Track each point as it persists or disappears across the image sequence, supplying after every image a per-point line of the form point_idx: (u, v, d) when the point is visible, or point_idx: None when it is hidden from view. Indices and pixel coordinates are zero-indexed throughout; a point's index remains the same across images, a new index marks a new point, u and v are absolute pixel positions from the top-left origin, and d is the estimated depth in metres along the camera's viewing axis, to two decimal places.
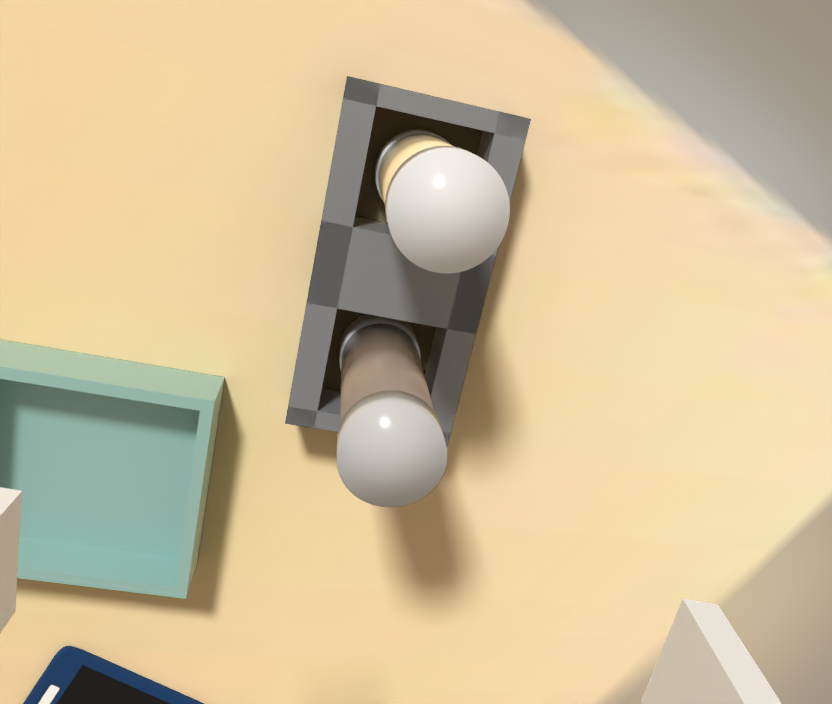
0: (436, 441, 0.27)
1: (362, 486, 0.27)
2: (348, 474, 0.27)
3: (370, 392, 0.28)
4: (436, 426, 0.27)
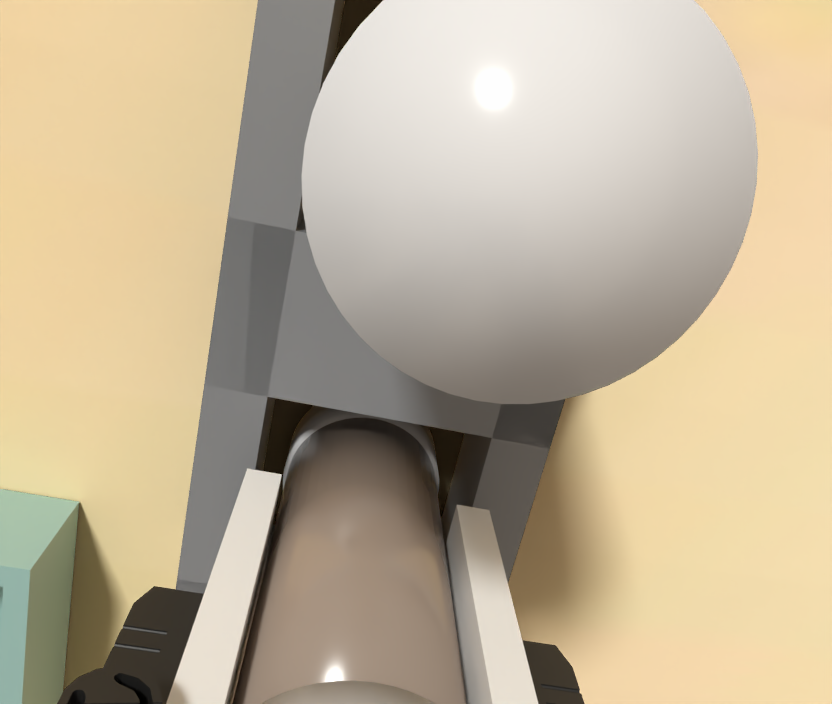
0: None
1: None
2: None
3: (296, 672, 0.11)
4: None
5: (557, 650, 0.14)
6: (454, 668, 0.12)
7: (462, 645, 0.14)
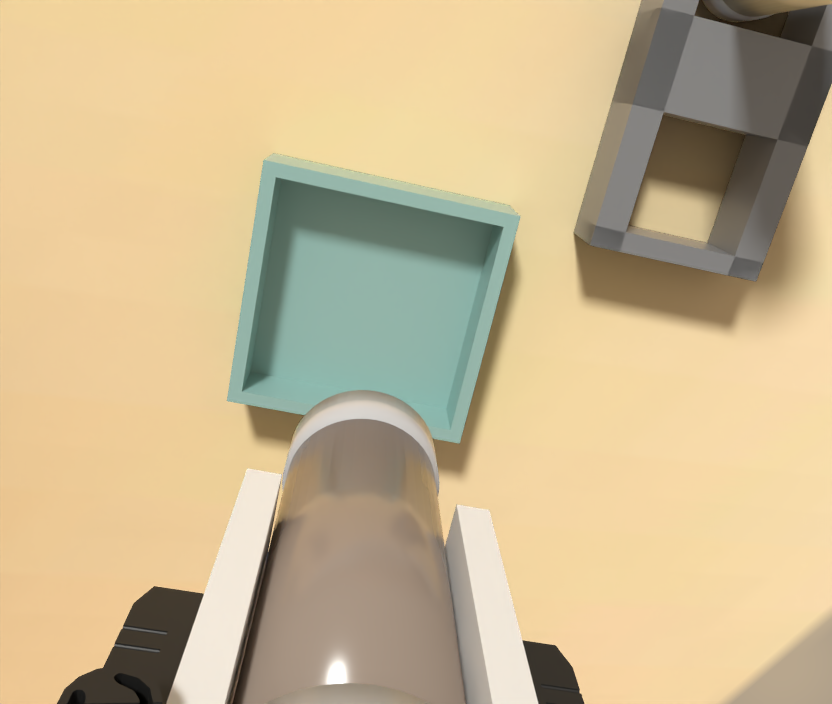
0: None
1: None
2: None
3: (295, 675, 0.11)
4: None
5: (556, 650, 0.14)
6: (454, 670, 0.12)
7: (461, 645, 0.14)
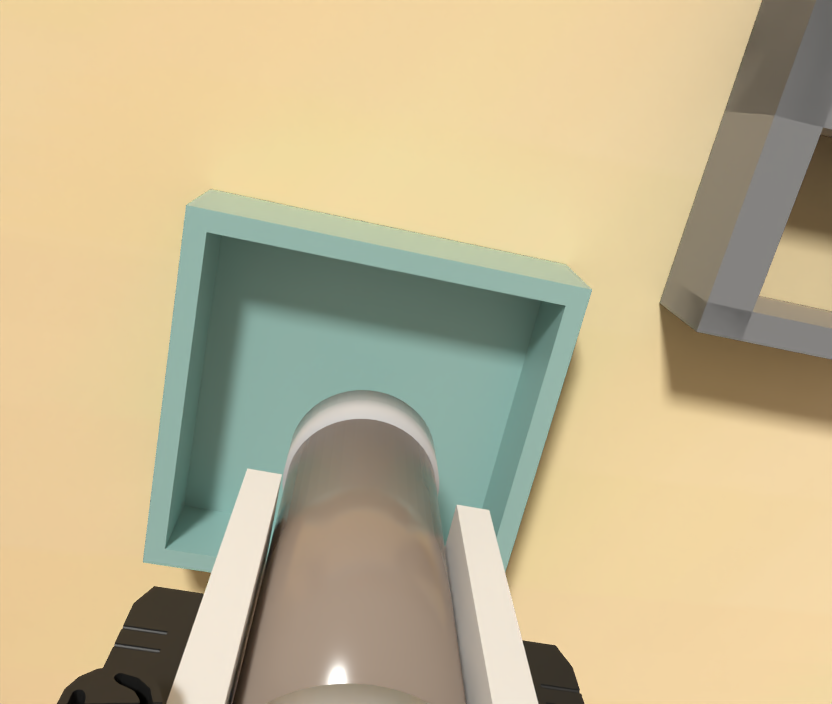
0: None
1: None
2: None
3: (295, 675, 0.11)
4: None
5: (557, 650, 0.14)
6: (454, 670, 0.12)
7: (462, 645, 0.14)
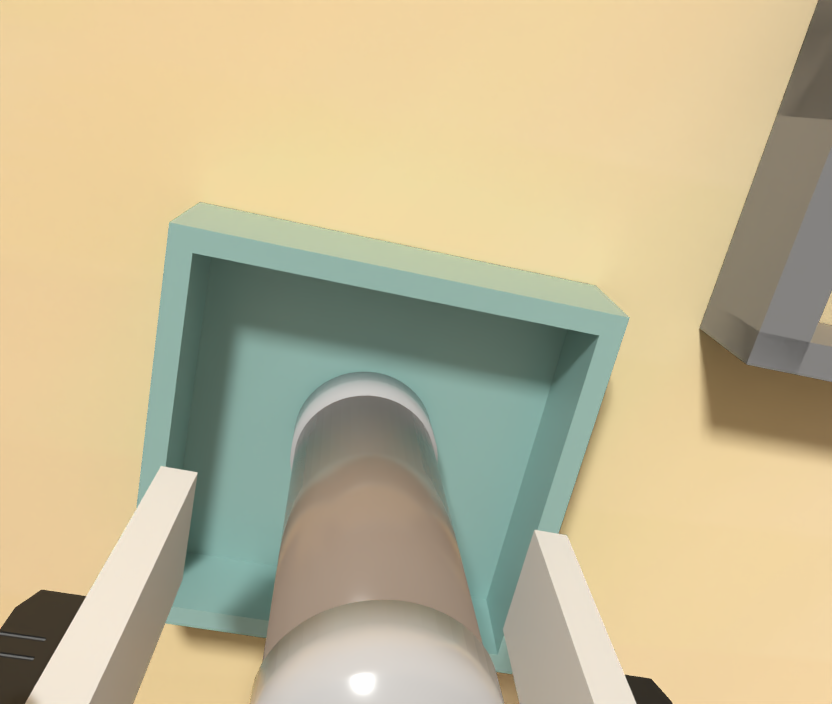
0: None
1: None
2: None
3: (330, 597, 0.12)
4: None
5: (653, 683, 0.14)
6: (468, 599, 0.13)
7: (556, 679, 0.14)
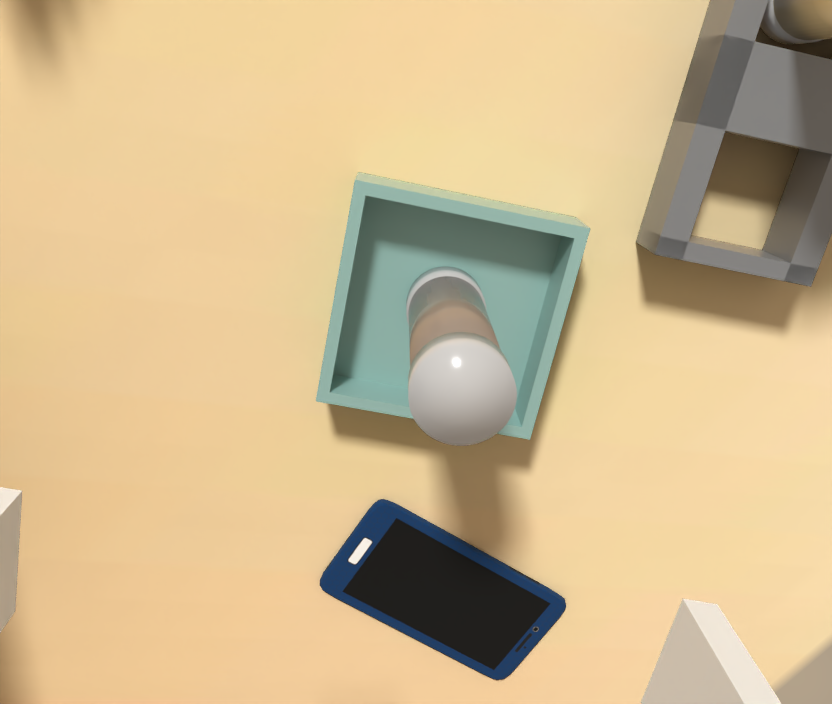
0: (505, 380, 0.27)
1: (433, 424, 0.28)
2: (419, 412, 0.28)
3: (440, 334, 0.29)
4: (506, 365, 0.27)
5: None
6: (498, 346, 0.30)
7: None
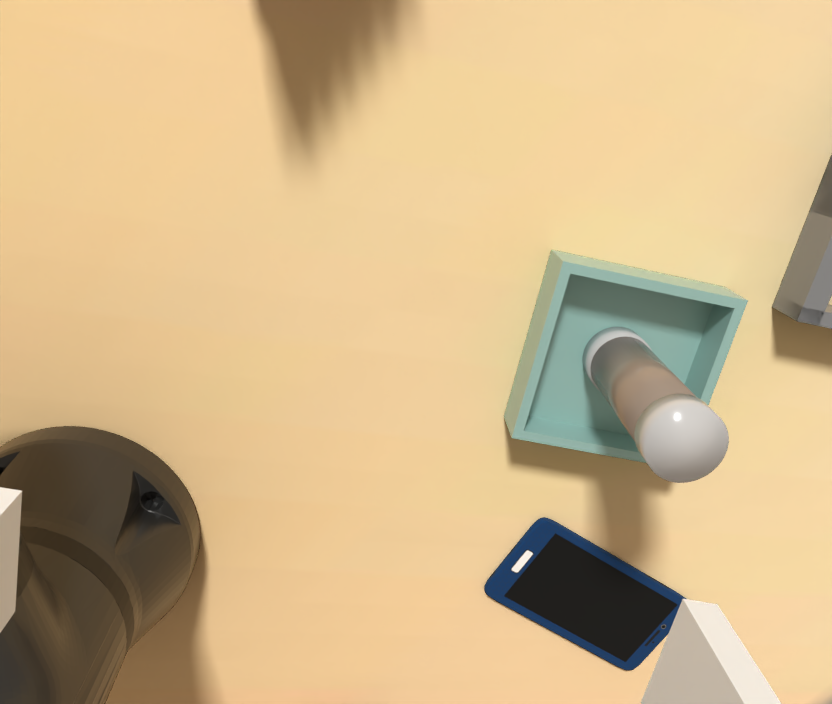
0: (721, 433, 0.35)
1: (661, 466, 0.36)
2: (652, 457, 0.36)
3: (661, 394, 0.37)
4: (722, 421, 0.35)
5: None
6: None
7: None
